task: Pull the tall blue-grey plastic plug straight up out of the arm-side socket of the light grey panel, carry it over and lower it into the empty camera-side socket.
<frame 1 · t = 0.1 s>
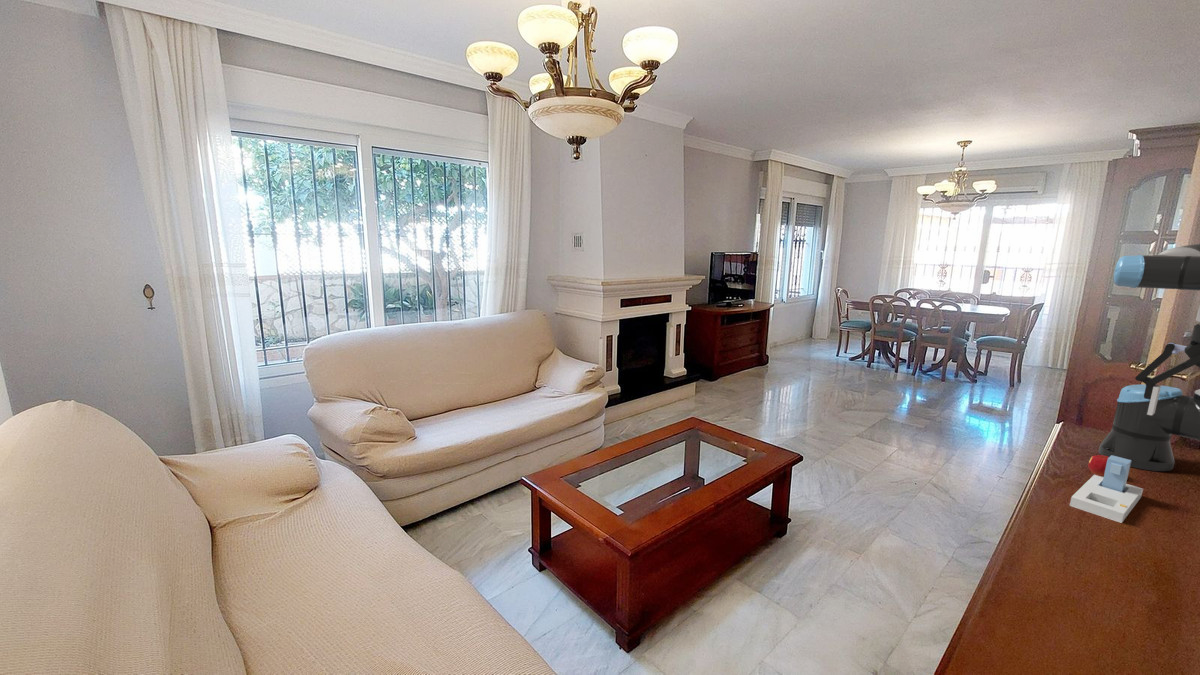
hand: (1198, 423, 100), 28 cm above the sideboard, fingers open, 13 cm apart
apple: (1099, 477, 133), on the sideboard
panel: (1105, 503, 120), on the sideboard
plug: (1111, 494, 123), point 1 cm above the sideboard, touching panel
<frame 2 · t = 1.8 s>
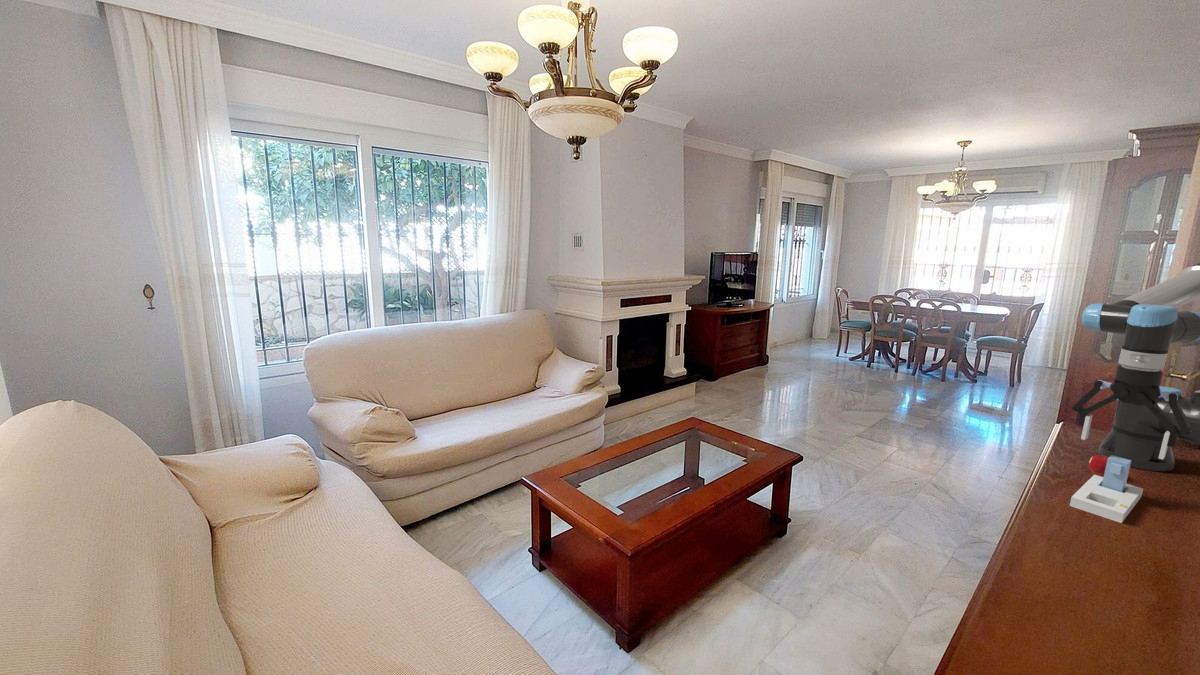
hand: (1121, 447, 120), 14 cm above the sideboard, fingers open, 13 cm apart
nothing on the sideboard moved.
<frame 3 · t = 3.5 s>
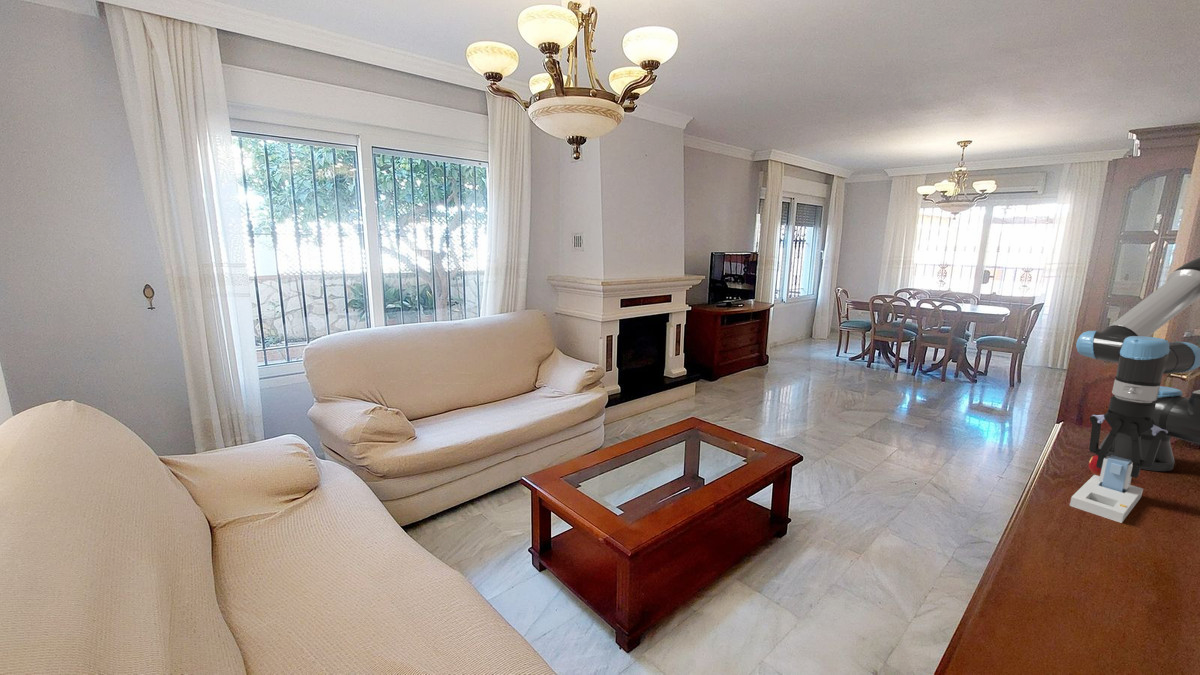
hand: (1114, 483, 122), 4 cm above the sideboard, fingers closed on plug, 4 cm apart
plug: (1111, 494, 123), point 1 cm above the sideboard, touching gripper, panel
everything else where it was.
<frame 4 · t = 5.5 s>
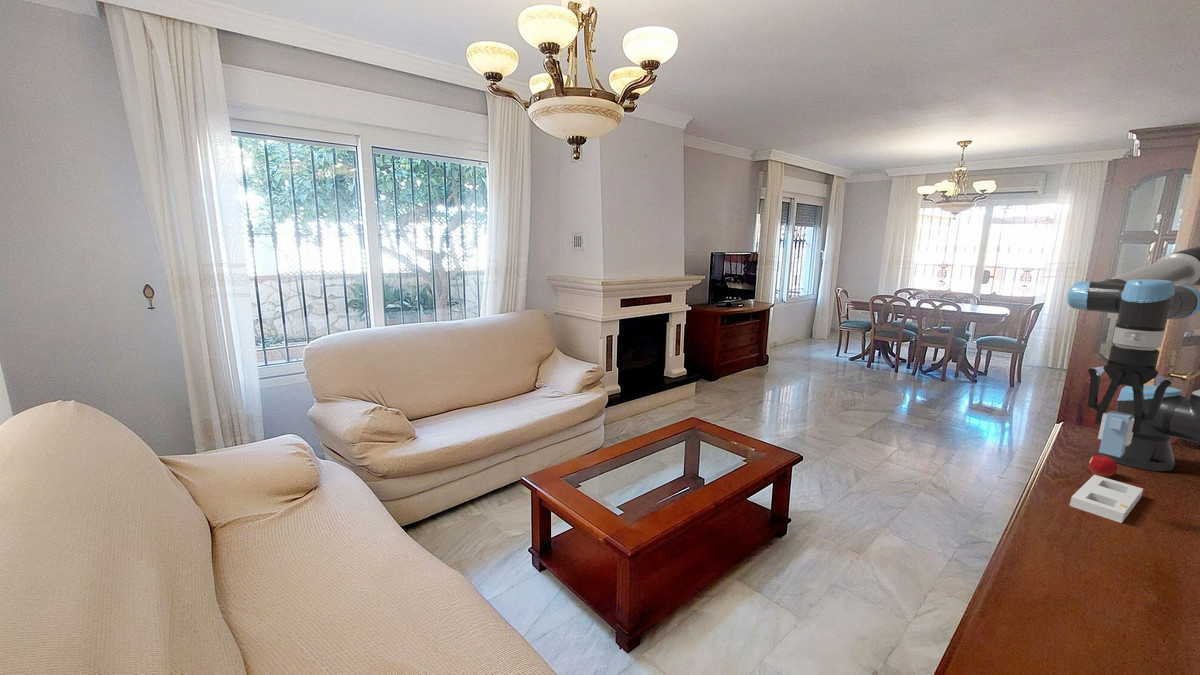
hand: (1114, 440, 114), 19 cm above the sideboard, fingers closed on plug, 4 cm apart
plug: (1111, 452, 114), point 15 cm above the sideboard, touching gripper
everything else where it was.
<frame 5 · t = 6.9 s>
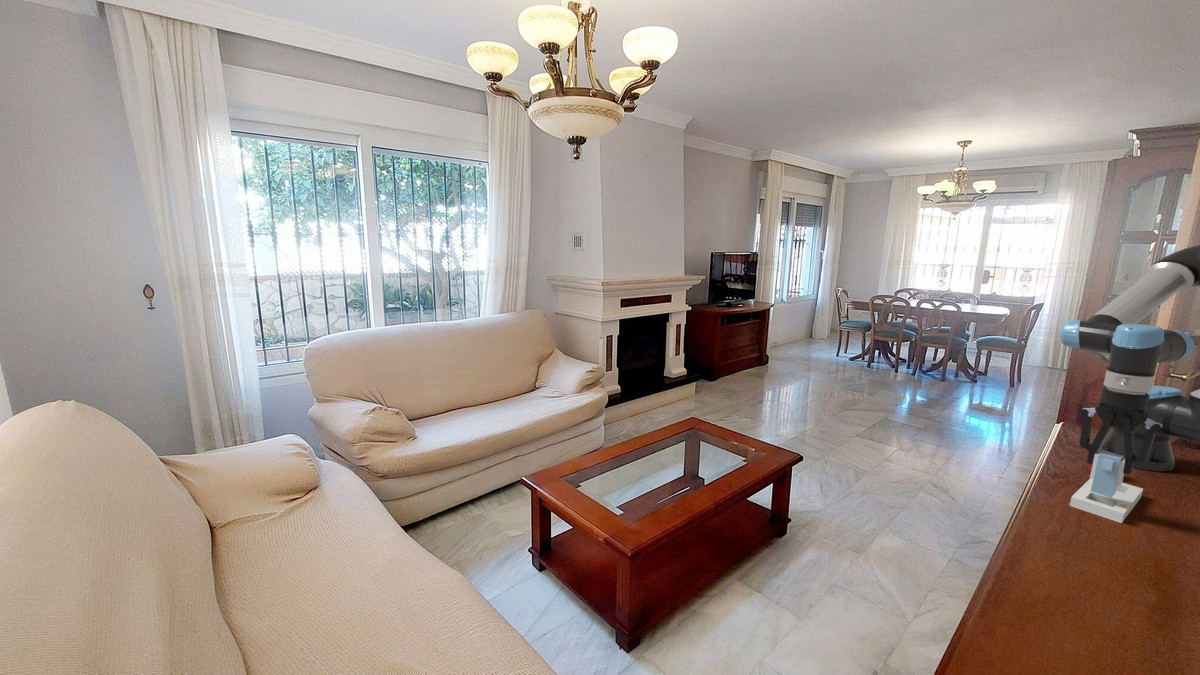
hand: (1105, 480, 116), 8 cm above the sideboard, fingers closed on plug, 4 cm apart
plug: (1103, 492, 116), point 5 cm above the sideboard, touching gripper
everything else where it was.
when the fingers open (5 cm above the sideboard, at t = 7.8 s): plug drops 1 cm, resting on panel.
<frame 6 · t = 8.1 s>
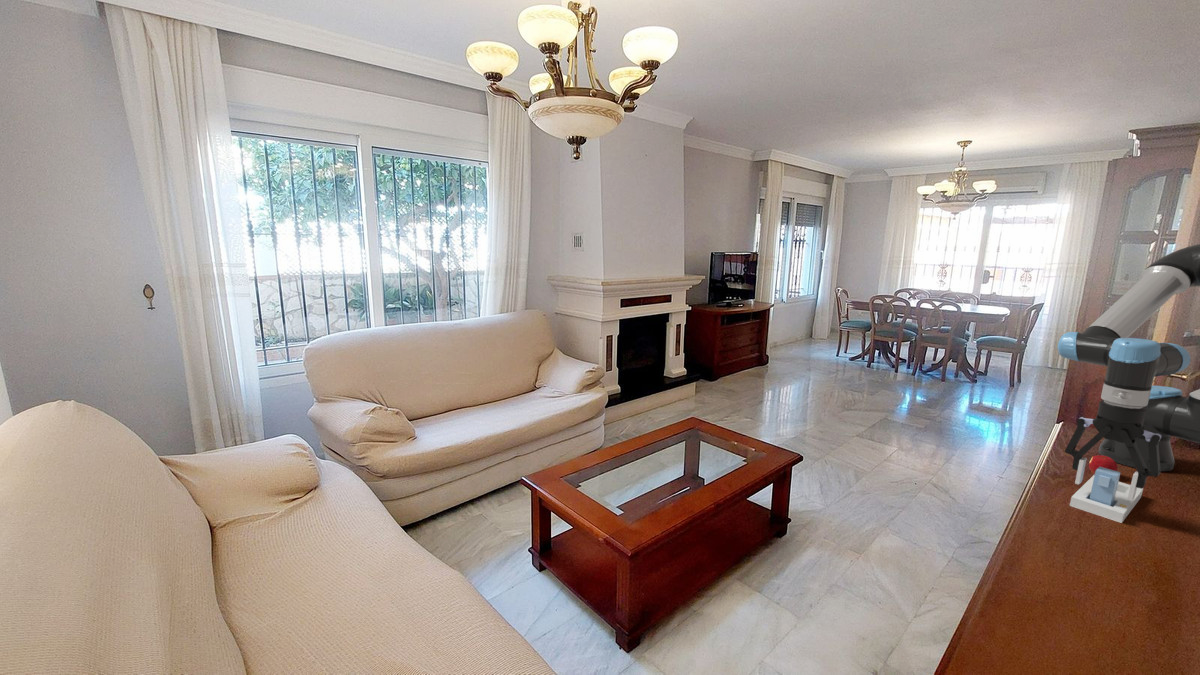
hand: (1103, 490, 116), 6 cm above the sideboard, fingers open, 8 cm apart
plug: (1099, 508, 117), point 1 cm above the sideboard, touching panel
everything else where it was.
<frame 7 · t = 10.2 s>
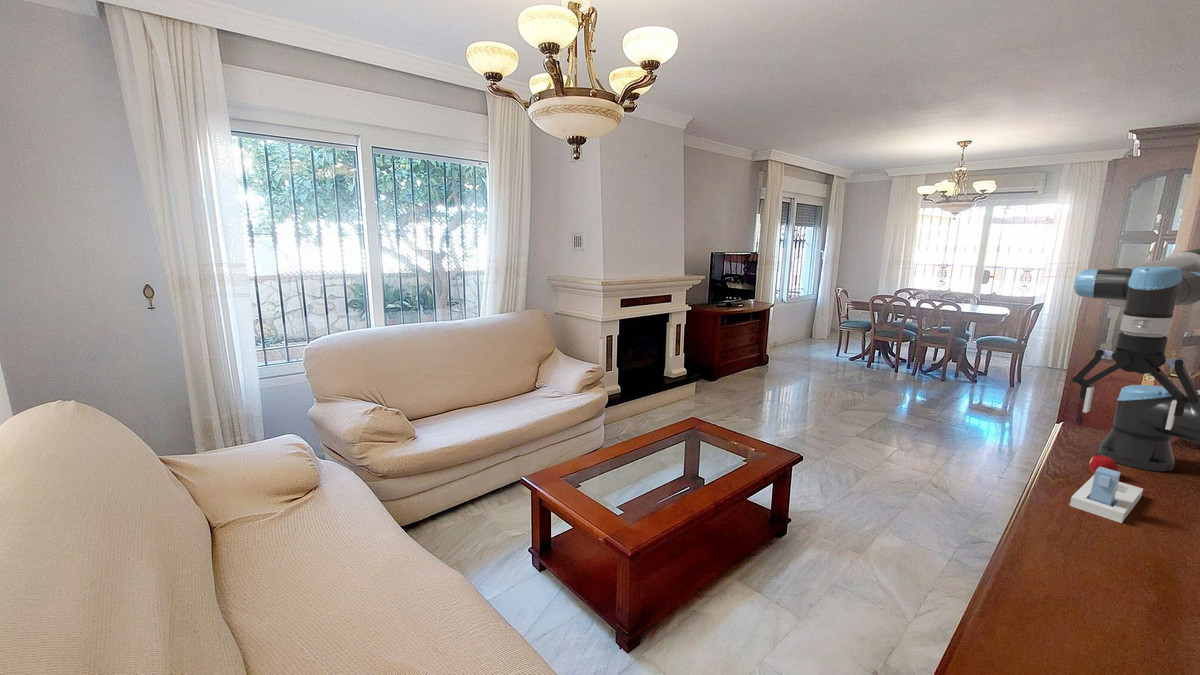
hand: (1125, 419, 114), 24 cm above the sideboard, fingers open, 13 cm apart
nothing on the sideboard moved.
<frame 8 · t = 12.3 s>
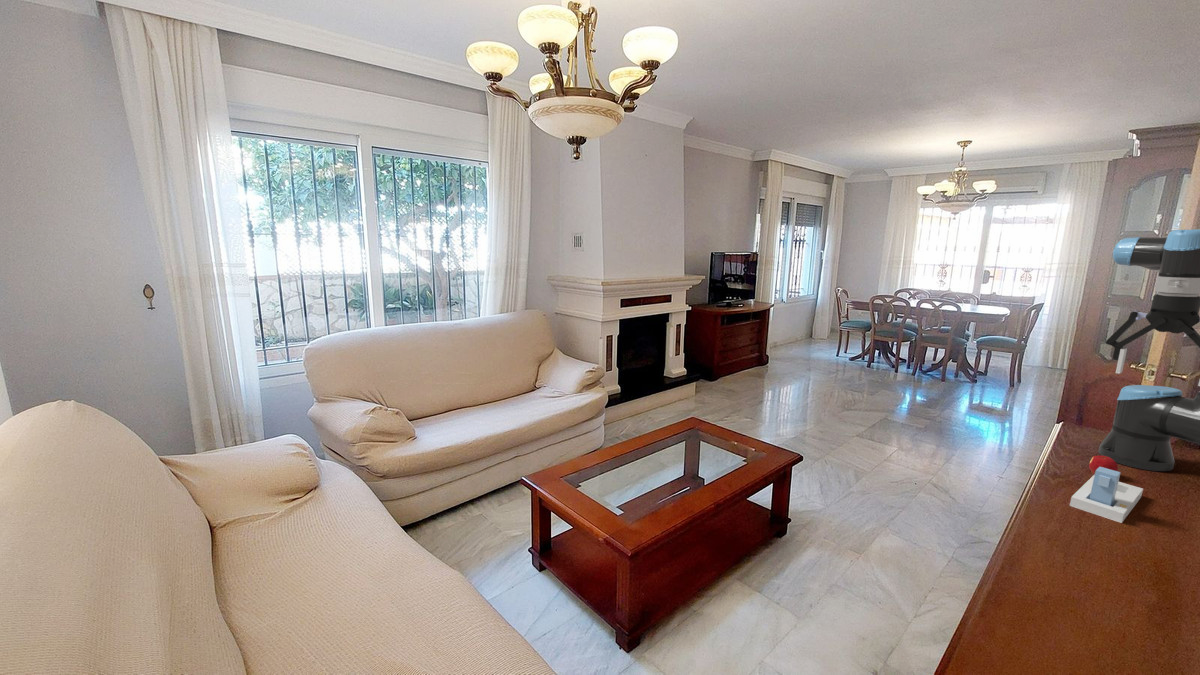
hand: (1158, 378, 118), 32 cm above the sideboard, fingers open, 13 cm apart
nothing on the sideboard moved.
at the end: plug 0.0 cm from the target spot on the panel, point 0.6 cm above the panel's base; plug tilted 0°; the gripper is holding nothing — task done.
